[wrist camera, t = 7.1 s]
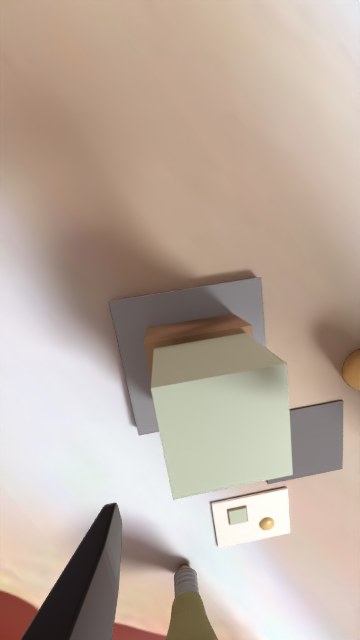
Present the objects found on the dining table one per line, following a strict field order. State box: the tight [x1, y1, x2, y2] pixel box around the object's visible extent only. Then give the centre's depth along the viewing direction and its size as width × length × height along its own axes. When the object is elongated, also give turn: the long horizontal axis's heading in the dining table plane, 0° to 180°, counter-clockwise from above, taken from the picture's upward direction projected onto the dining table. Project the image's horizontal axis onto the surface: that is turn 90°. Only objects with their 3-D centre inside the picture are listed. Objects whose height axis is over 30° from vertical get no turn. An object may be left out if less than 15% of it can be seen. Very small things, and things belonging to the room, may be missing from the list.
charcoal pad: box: [267, 400, 343, 484], centre depth 23 cm, size 8×8×1 cm
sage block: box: [151, 333, 293, 500], centre depth 13 cm, size 6×6×5 cm
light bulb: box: [166, 565, 218, 640], centre depth 21 cm, size 6×6×10 cm
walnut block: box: [144, 314, 253, 379], centre depth 18 cm, size 7×7×4 cm
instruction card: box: [212, 487, 290, 548], centre depth 25 cm, size 8×6×1 cm
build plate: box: [109, 277, 266, 435], centre depth 20 cm, size 12×12×1 cm
